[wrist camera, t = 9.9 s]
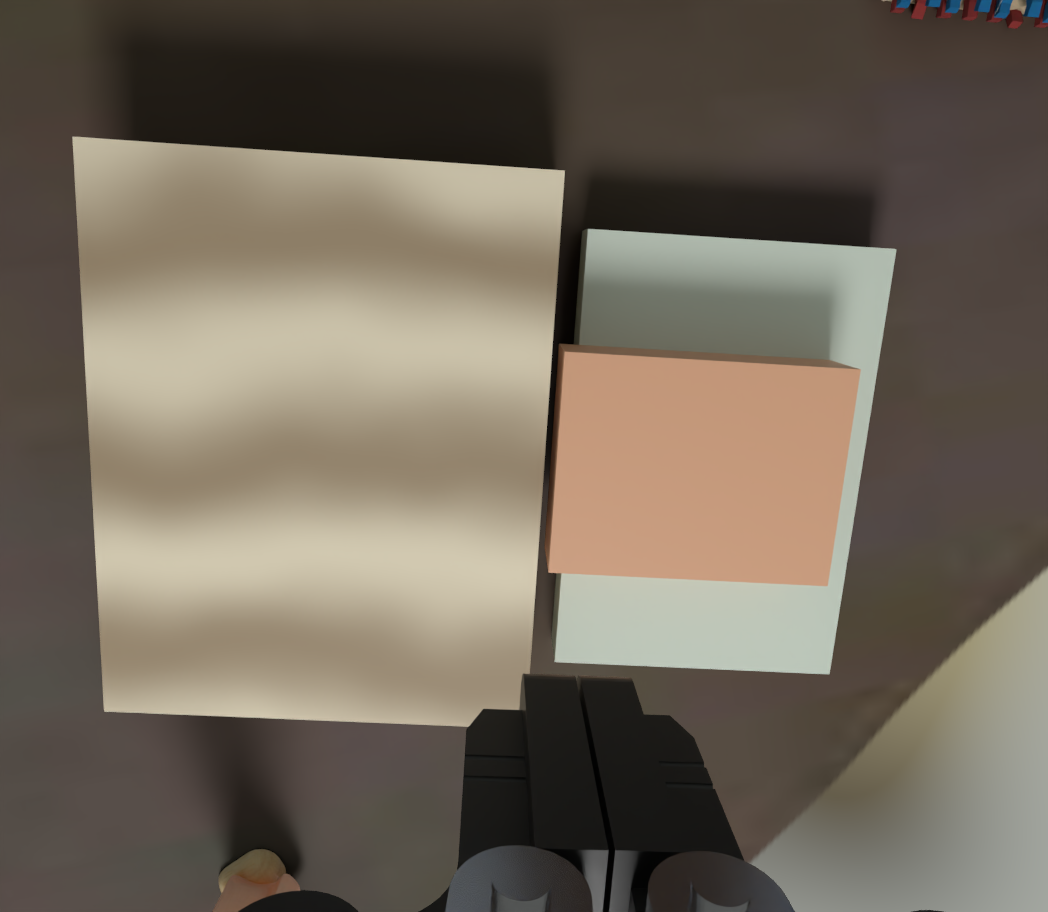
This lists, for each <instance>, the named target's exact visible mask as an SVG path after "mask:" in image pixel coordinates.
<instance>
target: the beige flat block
mask: <svg viewBox="0 0 1048 912" xmlns="http://www.w3.org/2000/svg"><path fill="white" fill-rule="evenodd" d="M73 154H74V172H75V190H76V208H77V227H78V245H79V263H80V281H81V299H82V318H83V336H84V354H85V372H86V390H87V408H88V427H89V445H90V463H91V481H92V499H93V518H94V536H95V554H96V572H97V590H98V608H99V627H100V645H101V663H102V681H103V699H104V711H105V712H129V713H153V714H178V715H202V716H226V717H250V718H274V719H299V720H323V721H347V722H371V723H395V724H420V725H444V726H468V727H469V726H470V725H471V723H472V722H473V721H474V720H475V718H476V717H477V716H478V715H479V713H480V712H481V711H482V710H483V709H505V710H519V707H520V692H521V681H522V674H523V673H524V674H530V662H531V648H532V633H533V619H534V605H535V590H536V576H537V562H538V548H539V533H540V519H541V505H542V491H543V476H544V462H545V448H546V433H547V419H548V405H549V391H550V376H551V362H552V348H553V333H554V319H555V305H556V291H557V276H558V262H559V248H560V234H561V219H562V205H563V191H564V176H565V171H564V170H549V169H535V168H520V167H506V166H491V165H477V164H462V163H448V162H433V161H419V160H404V159H390V158H375V157H360V156H346V155H331V154H317V153H302V152H288V151H273V150H259V149H244V148H230V147H215V146H201V145H186V144H172V143H157V142H143V141H128V140H114V139H99V138H85V137H73Z"/></svg>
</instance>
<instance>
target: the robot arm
mask: <svg viewBox="0 0 1048 912" xmlns="http://www.w3.org/2000/svg"><path fill="white" fill-rule="evenodd" d="M238 912H358V911H357V910H356V909H355V908H354V907H353V906H352V905H350V904H349V903H348V902H346V901H344V900H342V899H341V898H339V897H336V896H333V895H331V894H327V893H323V892H318V891H305V890H302V891H289V892H283V893H278V894H274V895H271V896H268V897H265V898H262V899H260V900H258V901H255V902H253V903H251V904H249V905H248V906H246V907H244V908H243V909H241V910H239V911H238ZM419 912H795V911H794V910H793V908H792V906H791V904H790V902H789V900H788V899H787V897H786V895H785V894H784V892H783V891H782V889H781V888H780V887H779V886H778V885H777V884H776V883H775V882H774V880H772V879H771V878H770V877H769V876H768V875H766V874H765V873H764V872H762V871H761V870H759V869H758V868H756V867H755V866H753V865H751V864H749V863H747V862H745V861H744V859H743V856H742V854H741V852H740V849H739V847H738V844H737V842H736V839H735V837H734V835H733V832H732V830H731V827H730V825H729V822H728V820H727V817H726V815H725V813H724V810H723V808H722V805H721V803H720V800H719V798H718V796H717V793H716V791H715V789H713V783H712V781H711V778H710V776H709V774H708V771H707V769H706V768H704V761H703V759H702V757H701V754H700V752H699V749H698V747H697V744H696V742H695V739H694V737H693V736H691V735H690V734H689V733H688V732H687V731H686V730H685V729H684V728H683V727H682V726H681V725H679V724H678V723H677V722H676V721H675V720H674V719H673V718H672V717H671V716H667V715H644V714H643V711H642V708H641V705H640V702H639V699H638V696H637V693H636V690H635V686H634V683H633V681H632V679H631V678H627V677H602V676H578V678H577V681H576V677H575V676H573V675H549V674H524V673H523V674H522V681H521V692H520V707H519V710H505V709H483V710H482V711H481V712H480V713H479V715H478V716H477V717H476V718H475V720H474V721H473V722H472V723H471V725H470V726H469V727H468V728H467V730H466V746H465V763H464V779H463V795H462V811H461V828H460V844H459V860H458V867H457V871H456V873H455V875H454V877H453V878H452V881H451V884H450V886H449V887H448V889H447V890H446V891H445V892H444V893H443V894H442V896H441V897H440V898H438V899H437V900H436V901H435V902H433V903H432V904H431V905H429V906H428V907H426V908H424V909H423V910H421V911H419ZM913 912H942V911H933V910H919V911H913Z"/></svg>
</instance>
